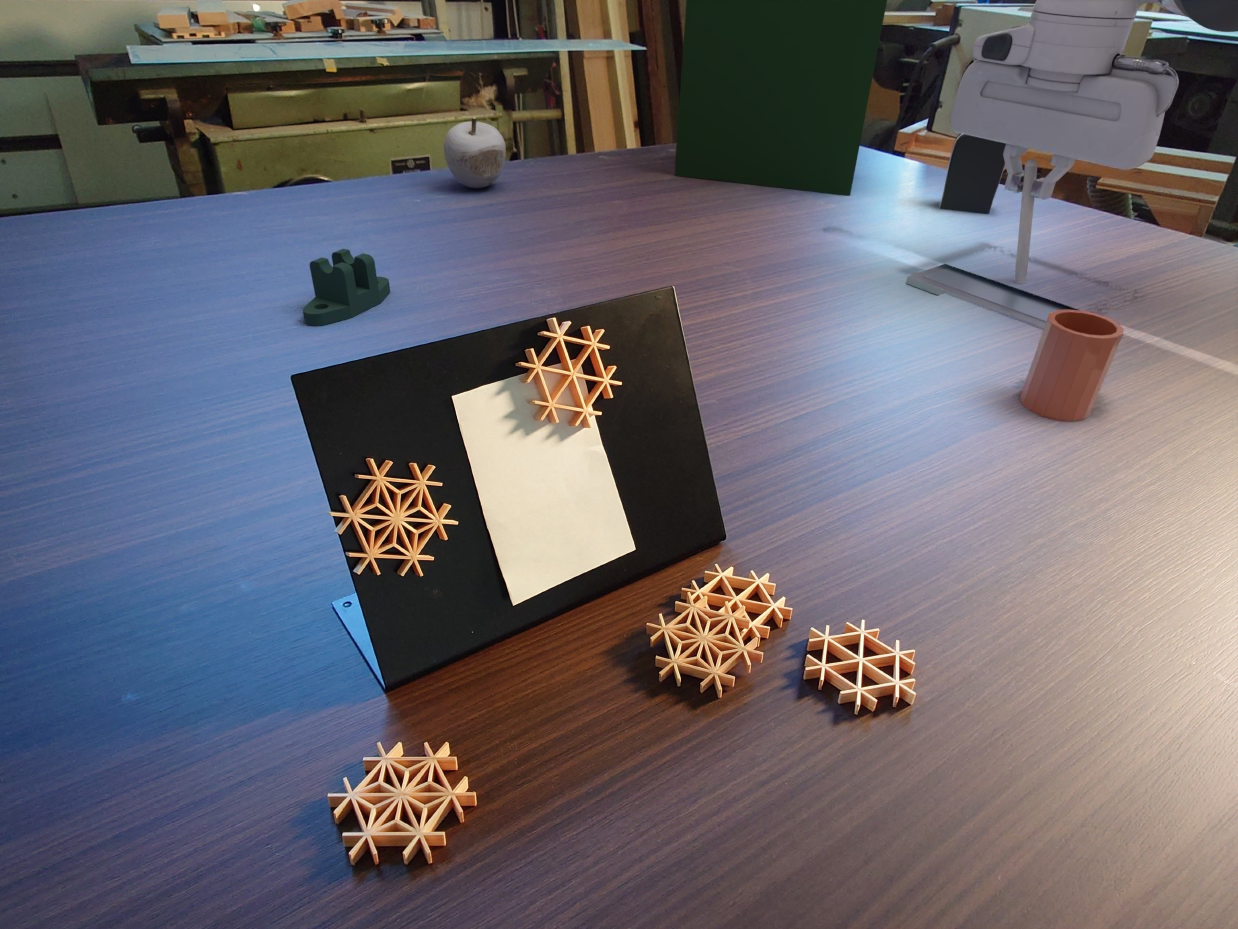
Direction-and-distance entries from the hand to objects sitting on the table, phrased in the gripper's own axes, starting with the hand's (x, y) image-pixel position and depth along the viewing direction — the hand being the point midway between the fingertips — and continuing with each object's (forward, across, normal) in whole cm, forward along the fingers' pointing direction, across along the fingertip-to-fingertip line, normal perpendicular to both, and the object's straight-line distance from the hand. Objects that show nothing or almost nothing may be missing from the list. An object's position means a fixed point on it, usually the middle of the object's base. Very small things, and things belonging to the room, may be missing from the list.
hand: (1026, 194), depth 85 cm
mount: (+11, +35, +62) cm, 72 cm away
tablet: (+10, -2, 0) cm, 11 cm away
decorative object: (+11, +66, +30) cm, 73 cm away
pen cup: (+10, -18, +22) cm, 30 cm away
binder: (+11, +49, -13) cm, 52 cm away
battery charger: (+11, +18, -20) cm, 29 cm away
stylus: (+9, -2, 0) cm, 10 cm away
